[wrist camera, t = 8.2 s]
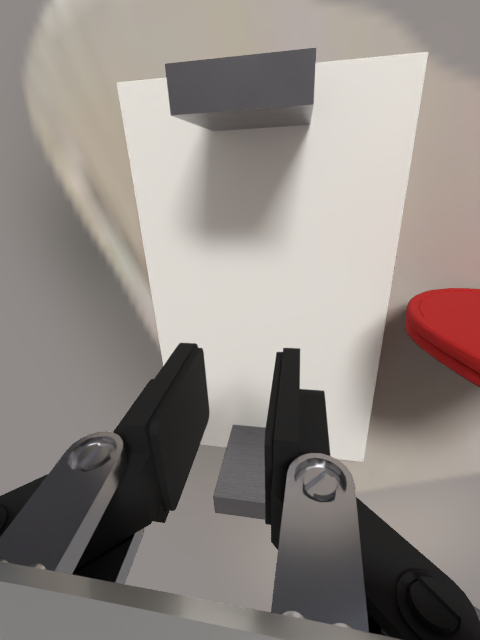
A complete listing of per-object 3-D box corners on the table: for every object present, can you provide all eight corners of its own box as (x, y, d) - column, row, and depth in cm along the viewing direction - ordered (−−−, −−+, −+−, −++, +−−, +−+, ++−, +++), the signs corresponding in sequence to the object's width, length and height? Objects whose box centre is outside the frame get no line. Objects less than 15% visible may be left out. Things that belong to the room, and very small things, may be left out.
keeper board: (417, 61, 13) (506, -19, 7) (360, 446, 21) (380, 546, 16) (130, 88, 15) (26, 42, 9) (181, 429, 23) (143, 512, 18)
